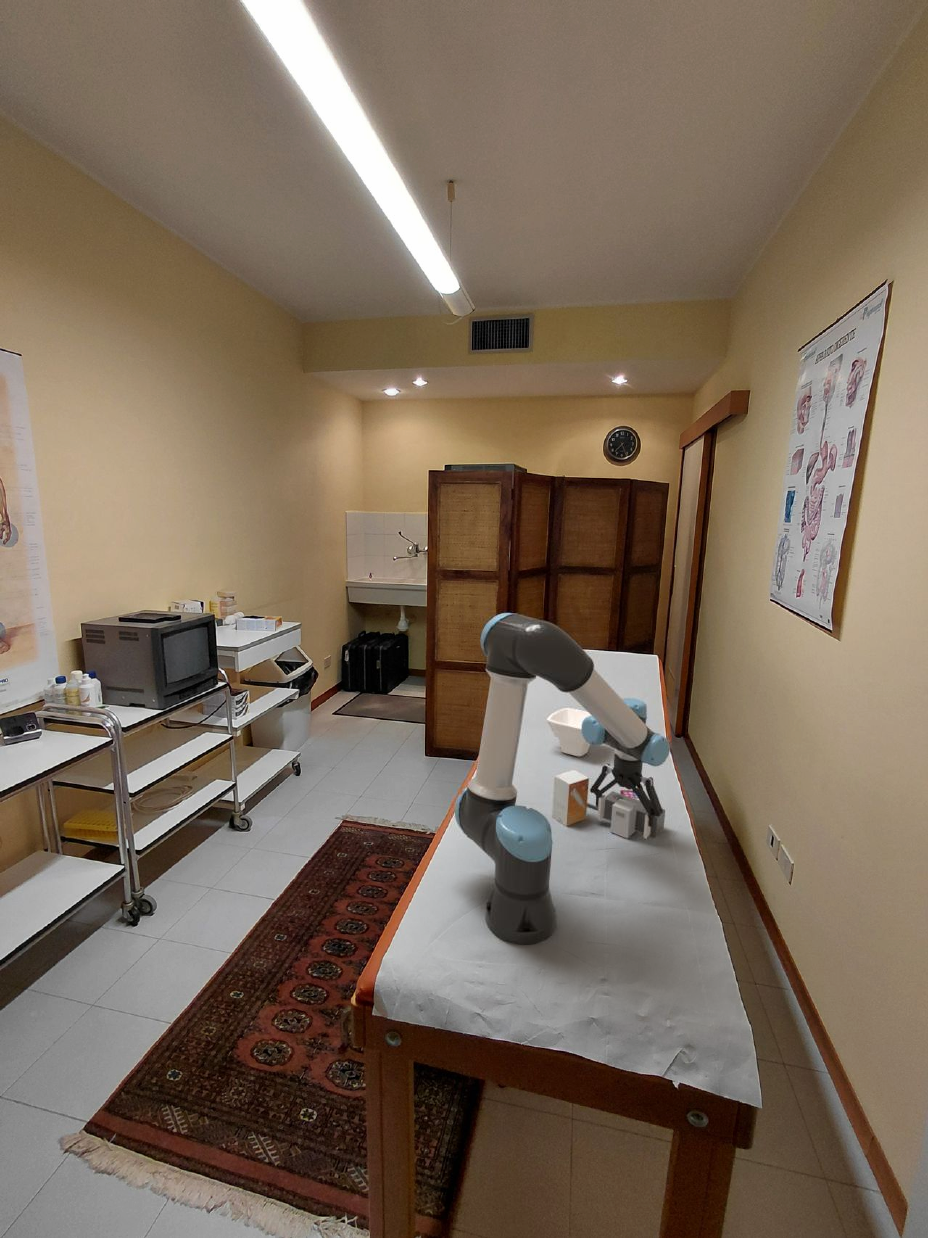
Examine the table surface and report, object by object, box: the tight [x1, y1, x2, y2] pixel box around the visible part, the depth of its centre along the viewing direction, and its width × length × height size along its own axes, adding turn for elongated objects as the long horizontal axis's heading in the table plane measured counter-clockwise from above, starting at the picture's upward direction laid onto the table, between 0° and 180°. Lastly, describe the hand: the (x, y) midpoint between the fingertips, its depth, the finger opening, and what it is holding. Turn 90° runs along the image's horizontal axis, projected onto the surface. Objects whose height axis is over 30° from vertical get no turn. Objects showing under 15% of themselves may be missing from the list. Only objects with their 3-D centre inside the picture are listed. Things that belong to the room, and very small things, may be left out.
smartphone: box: [620, 789, 640, 801], centre depth 168 cm, size 8×1×15 cm
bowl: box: [546, 707, 592, 757], centre depth 204 cm, size 19×19×14 cm
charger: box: [609, 799, 637, 839], centre depth 152 cm, size 9×5×8 cm, turn 139°
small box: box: [551, 769, 590, 827], centre depth 158 cm, size 8×6×13 cm
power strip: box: [587, 790, 666, 839], centre depth 159 cm, size 6×24×7 cm, turn 50°
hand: (623, 826), depth 152 cm, fingers open, 13 cm apart
